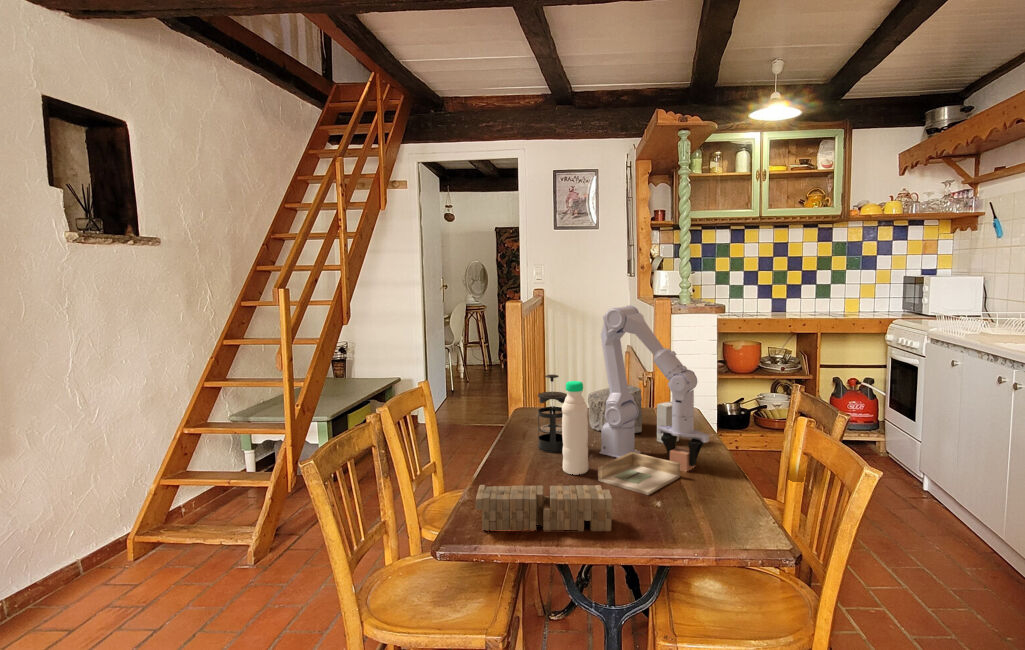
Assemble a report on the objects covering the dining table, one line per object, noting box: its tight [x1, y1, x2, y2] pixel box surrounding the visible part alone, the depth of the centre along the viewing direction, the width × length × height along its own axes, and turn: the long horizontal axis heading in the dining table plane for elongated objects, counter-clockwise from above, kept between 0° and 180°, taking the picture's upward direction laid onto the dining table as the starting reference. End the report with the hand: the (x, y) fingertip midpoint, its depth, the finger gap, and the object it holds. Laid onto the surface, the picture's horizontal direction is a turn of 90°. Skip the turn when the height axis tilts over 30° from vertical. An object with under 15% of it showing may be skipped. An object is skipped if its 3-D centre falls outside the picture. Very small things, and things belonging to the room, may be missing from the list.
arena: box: [597, 452, 681, 496], centre depth 158 cm, size 15×16×4 cm
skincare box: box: [656, 401, 680, 444], centre depth 189 cm, size 6×4×12 cm
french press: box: [537, 374, 567, 453], centre depth 185 cm, size 12×9×23 cm
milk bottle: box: [561, 380, 589, 476], centre depth 164 cm, size 7×7×25 cm
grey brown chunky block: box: [587, 384, 643, 434], centre depth 205 cm, size 19×17×15 cm
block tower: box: [475, 484, 613, 532], centre depth 133 cm, size 8×8×29 cm
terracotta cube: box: [670, 446, 696, 473], centre depth 166 cm, size 5×5×5 cm
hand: (682, 462), depth 166 cm, fingers open, 6 cm apart
